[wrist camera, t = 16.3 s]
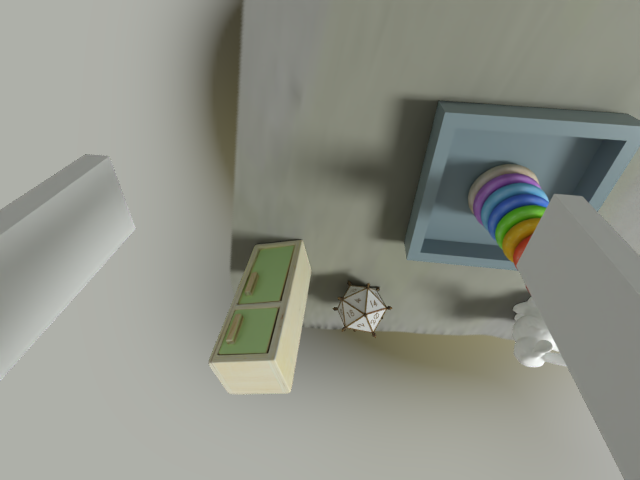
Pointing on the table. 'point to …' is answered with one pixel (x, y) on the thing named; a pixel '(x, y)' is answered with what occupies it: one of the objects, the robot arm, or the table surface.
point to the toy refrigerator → (264, 322)
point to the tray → (509, 148)
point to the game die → (361, 308)
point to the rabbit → (533, 337)
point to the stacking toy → (508, 206)
